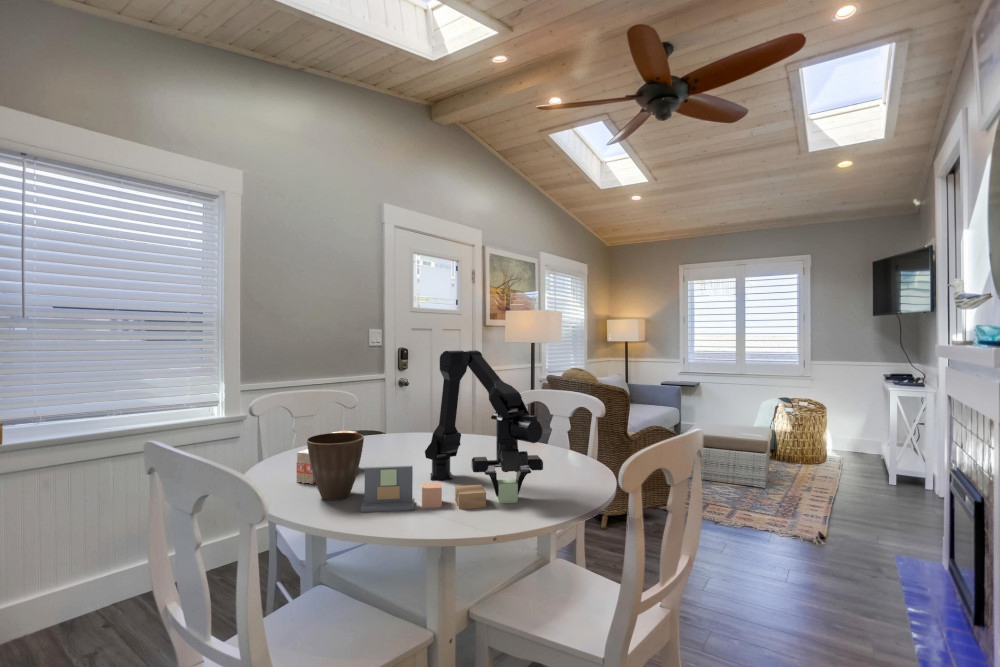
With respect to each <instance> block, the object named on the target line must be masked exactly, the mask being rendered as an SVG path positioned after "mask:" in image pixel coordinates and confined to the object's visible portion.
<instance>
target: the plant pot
mask: <svg viewBox="0 0 1000 667" xmlns="http://www.w3.org/2000/svg"><path fill="white" fill-rule="evenodd" d="M364 439H365V436H364V435H363V434H360V433H358V432H357V433H333V432H330V433H320V434H316V435H312V436H310V437H308V438H307V439H306V446H307V449H308V453H309V458H310V463H311V468H312V472H313V475H314V479H315V482H316V484H315V485H316V487H317V490H318V492H319V495H320V497H322V498H321V499H323V500H325V499H328V500H327V501H337V500H338V499H339V500H343V499H346V498H348V497H349V496H350V495H351V492H352V490H353V487H354V484H355V481H356V478H357V474H358V471H359V467H360V464H361V458H362V454H363V447H364ZM339 500H338V501H339Z"/></svg>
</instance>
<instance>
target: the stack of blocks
mask: <svg viewBox="0 0 1000 667" xmlns="http://www.w3.org/2000/svg"><path fill="white" fill-rule="evenodd" d="M332 433H358V431H354V430H351V431H350V430H339V431H334V432H332ZM297 482H303V483H302V484H304V483H310V484H309V485H311V484H313V485H315V484H314V483H316V482H315V479H314V475H313V472H312V468H311V463H310V458H309V453H308V448H307V449H304V450H300V451H297V452H296V483H297Z"/></svg>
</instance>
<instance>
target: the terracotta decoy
mask: <svg viewBox="0 0 1000 667" xmlns="http://www.w3.org/2000/svg"><path fill="white" fill-rule="evenodd" d="M442 490H443V488H442V481H437V482H422V483H421V508H422V509H424V508H427V509H428V508H442V506H443V504H442V503H443V498H442V496H443V493H442V492H443V491H442Z"/></svg>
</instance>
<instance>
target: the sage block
mask: <svg viewBox="0 0 1000 667" xmlns="http://www.w3.org/2000/svg"><path fill="white" fill-rule="evenodd" d="M497 486H498V496H496V495H495V496H496V500H497V501H498V504H505V503H506V504H509V503H510V504H511V503H518V499H519V494H518V483H517V481H516V477H513V478H497Z"/></svg>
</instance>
